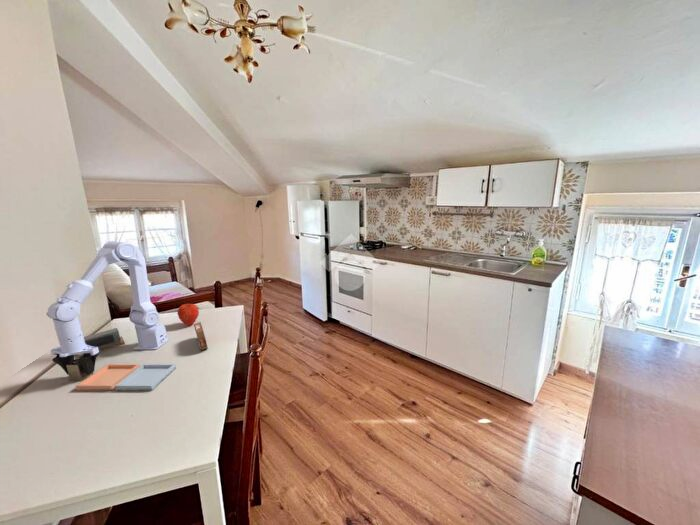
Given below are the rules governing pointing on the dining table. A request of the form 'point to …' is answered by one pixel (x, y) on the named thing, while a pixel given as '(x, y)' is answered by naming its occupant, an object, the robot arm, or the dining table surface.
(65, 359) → the robot arm
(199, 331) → the tin
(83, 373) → the wooden block with knob
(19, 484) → the dining table surface
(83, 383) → the terracotta tray
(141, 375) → the blue-grey tray
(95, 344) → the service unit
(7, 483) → the dining table surface
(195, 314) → the apple
